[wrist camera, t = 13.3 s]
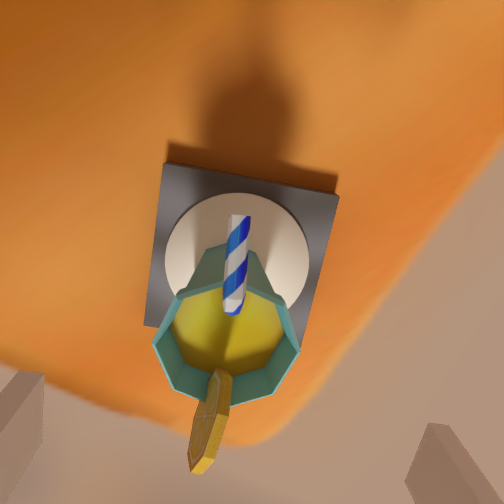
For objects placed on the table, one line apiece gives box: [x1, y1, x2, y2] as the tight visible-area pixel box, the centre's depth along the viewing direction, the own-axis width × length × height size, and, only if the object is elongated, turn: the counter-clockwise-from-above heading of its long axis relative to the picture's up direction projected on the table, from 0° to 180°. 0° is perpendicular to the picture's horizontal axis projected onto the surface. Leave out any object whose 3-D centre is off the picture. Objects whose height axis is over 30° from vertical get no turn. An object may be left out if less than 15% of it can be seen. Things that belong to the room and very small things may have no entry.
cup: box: [152, 215, 301, 475], centre depth 23 cm, size 14×8×15 cm, turn 175°
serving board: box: [143, 161, 340, 348], centre depth 31 cm, size 13×13×2 cm
